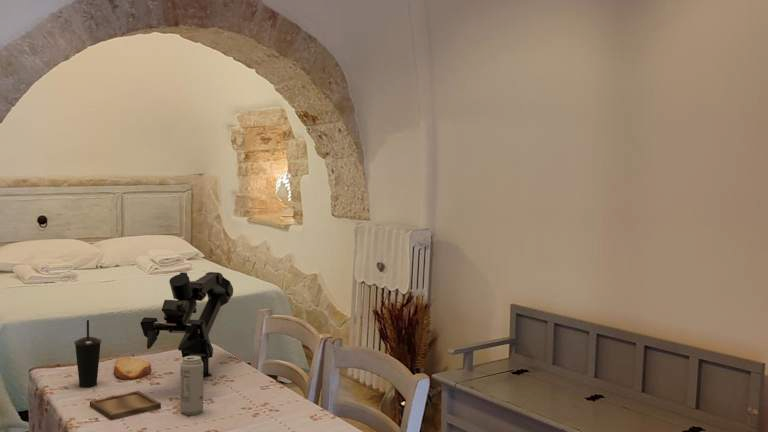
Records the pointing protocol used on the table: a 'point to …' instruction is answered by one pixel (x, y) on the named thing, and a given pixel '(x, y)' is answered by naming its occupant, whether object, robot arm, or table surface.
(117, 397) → the tray
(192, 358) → the energy drink can
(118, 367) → the bread slice
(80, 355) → the drinking cup
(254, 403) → the table surface
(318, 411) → the table surface
